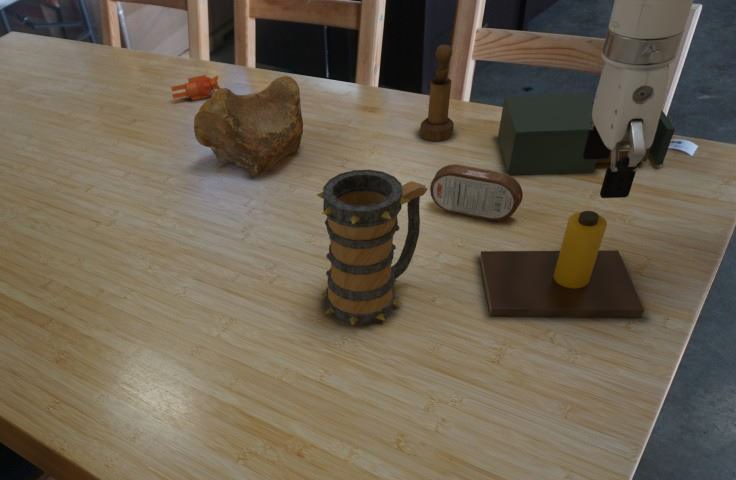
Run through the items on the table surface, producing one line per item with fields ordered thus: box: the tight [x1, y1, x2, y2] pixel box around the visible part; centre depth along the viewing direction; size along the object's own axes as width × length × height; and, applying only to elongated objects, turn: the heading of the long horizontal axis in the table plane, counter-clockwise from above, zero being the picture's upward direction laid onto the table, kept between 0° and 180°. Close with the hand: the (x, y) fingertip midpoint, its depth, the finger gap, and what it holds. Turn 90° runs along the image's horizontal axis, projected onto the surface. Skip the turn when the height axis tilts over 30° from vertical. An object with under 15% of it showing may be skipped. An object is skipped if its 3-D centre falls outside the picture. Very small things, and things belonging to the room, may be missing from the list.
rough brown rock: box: [193, 75, 304, 177], centre depth 135 cm, size 23×17×15 cm
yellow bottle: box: [554, 210, 608, 288], centre depth 96 cm, size 5×5×11 cm
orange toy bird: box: [170, 74, 221, 101], centre depth 166 cm, size 5×8×12 cm
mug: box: [315, 169, 429, 326], centre depth 97 cm, size 13×17×20 cm
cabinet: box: [497, 92, 597, 176], centre depth 125 cm, size 15×15×9 cm
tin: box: [429, 163, 524, 222], centre depth 114 cm, size 15×3×8 cm, turn 58°
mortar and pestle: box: [419, 43, 455, 142], centre depth 133 cm, size 7×6×18 cm
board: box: [479, 249, 645, 319], centre depth 100 cm, size 20×14×2 cm
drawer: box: [591, 100, 676, 166], centre depth 123 cm, size 15×13×7 cm
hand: (604, 176), depth 88 cm, fingers open, 9 cm apart
